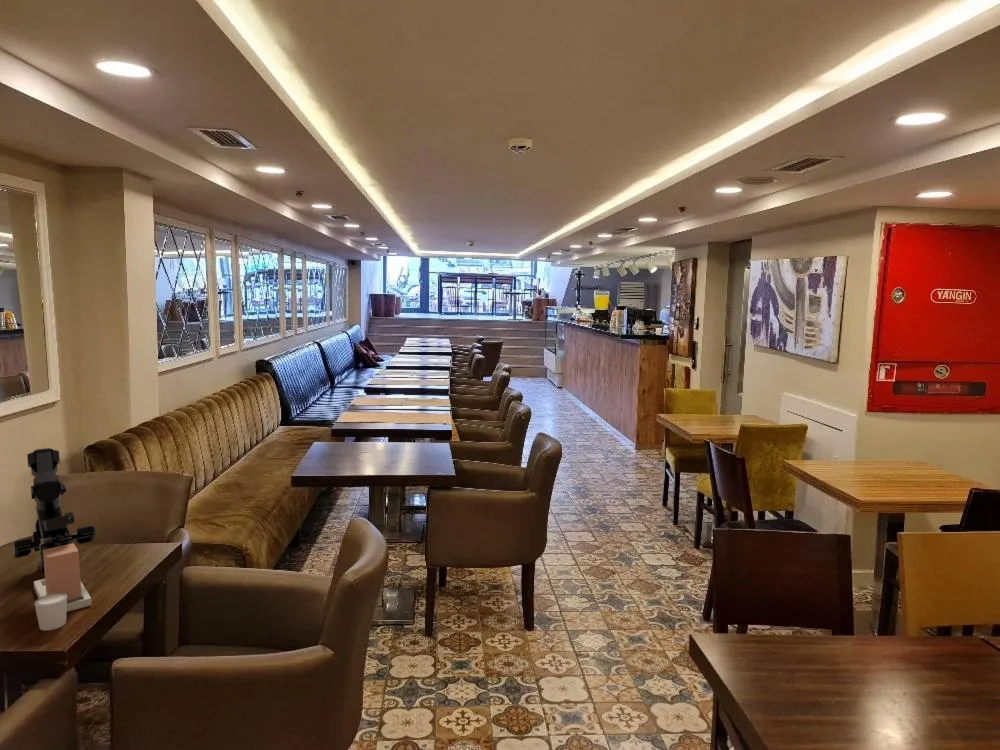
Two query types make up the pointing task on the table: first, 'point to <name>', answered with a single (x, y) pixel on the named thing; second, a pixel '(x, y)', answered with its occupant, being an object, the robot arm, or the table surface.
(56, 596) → the white cup
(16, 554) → the robot arm
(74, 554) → the terracotta block
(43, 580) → the trap board
